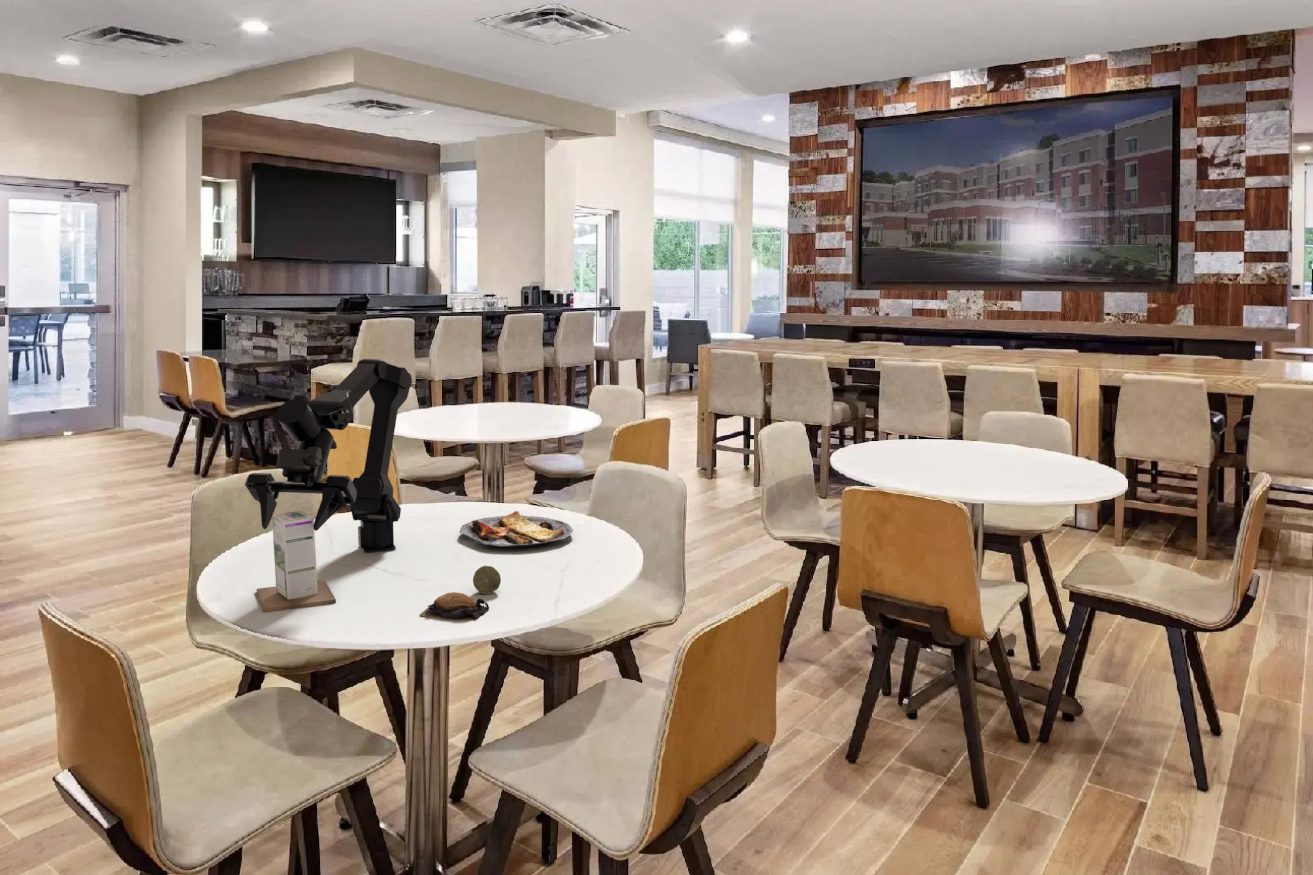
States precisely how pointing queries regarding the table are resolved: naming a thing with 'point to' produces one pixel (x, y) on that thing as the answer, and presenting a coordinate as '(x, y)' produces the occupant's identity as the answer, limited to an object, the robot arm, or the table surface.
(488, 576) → the lime
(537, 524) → the food plate
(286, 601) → the plate
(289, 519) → the syrup box
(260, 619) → the table surface
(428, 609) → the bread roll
